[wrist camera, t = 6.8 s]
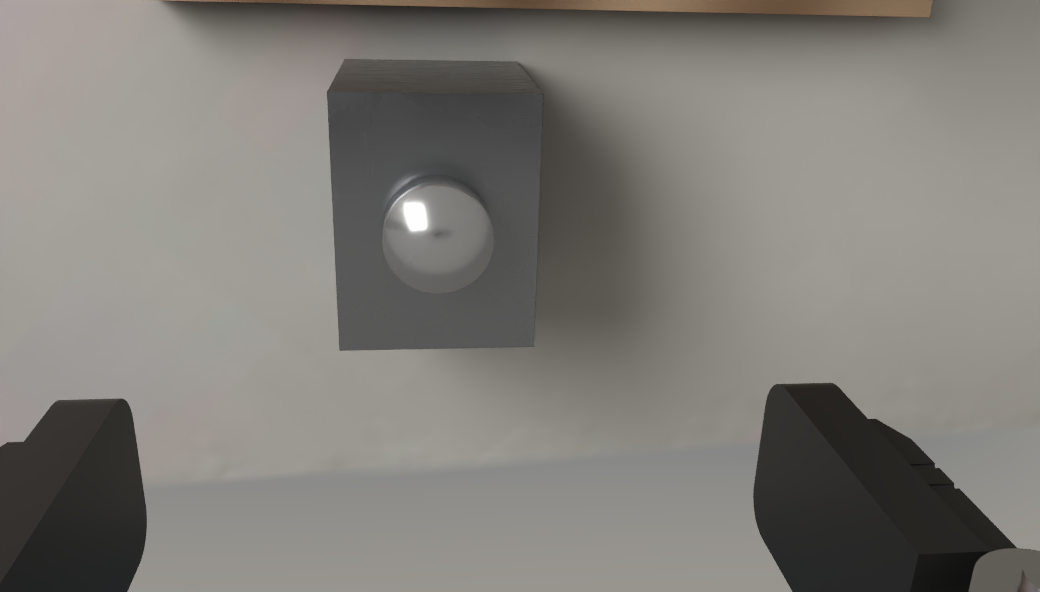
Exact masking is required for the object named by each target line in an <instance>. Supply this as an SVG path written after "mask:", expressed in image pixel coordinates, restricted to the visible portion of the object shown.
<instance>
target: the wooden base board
mask: <svg viewBox="0 0 1040 592" xmlns="http://www.w3.org/2000/svg"><path fill="white" fill-rule="evenodd" d="M162 1H208V2H254V3H300V4H346V5H391V6H437V7H483V8H529V9H575V10H621V11H666V12H712V13H758V14H804V15H850V16H896V17H930V14H931V8H932V3H933V0H162Z"/></svg>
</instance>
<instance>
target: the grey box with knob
mask: <svg viewBox="0 0 1040 592" xmlns="http://www.w3.org/2000/svg"><path fill="white" fill-rule="evenodd" d="M327 100H328V121H329V141H330V162H331V183H332V203H333V224H334V245H335V266H336V286H337V307H338V328H339V348H340V351H343V350H393V349H443V348H493V347H534V333H535V306H536V279H537V252H538V226H539V199H540V172H541V145H542V119H543V93H542V92H541V91H540V90H539V88H538V87H537V86H536V85H535V83H534V82H533V81H532V80H531V78H530V77H529V76H528V75H527V74H526V72H525V71H524V70H523V69H522V67H521V66H520V65H519V64H518V63H517V62H499V61H434V60H368V59H345V60H344V61H343V63H342V65H341V67H340V69H339V71H338V73H337V74H336V76H335V78H334V80H333V82H332V84H331V86H330V87H329V89H328V91H327Z"/></svg>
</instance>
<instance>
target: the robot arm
mask: <svg viewBox="0 0 1040 592" xmlns="http://www.w3.org/2000/svg"><path fill="white" fill-rule="evenodd" d="M753 497H754V511H755V518H756V522H757V526H758V529H759V532H760V535H761V537H762V538H763V540H764V542H765V544H766V546H767V547H768V549H769V551H770V553H771V554H772V556H773V558H774V560H775V561H776V563H777V565H778V567H779V569H780V570H781V572H782V573H783V575H784V577H785V579H786V581H787V583H788V584H789V586H790V588H791V590H792V591H793V592H1040V551H1036V550H1031V549H1019V548H1016V547H1015V545H1014V544H1013V543H1012V542H1011V541H1010V540H1009V539H1008V538H1007V537H1006V536H1005V535H1004V534H1003V533H1002V532H1001V531H1000V530H999V529H998V528H997V527H996V526H995V525H994V524H993V523H992V522H991V521H990V520H989V519H988V518H987V517H986V516H985V515H984V514H983V513H982V512H981V510H979V509H978V507H977V506H976V505H975V504H974V503H973V502H972V501H971V500H970V499H969V498H968V497H967V496H966V495H965V494H964V493H963V492H962V491H961V490H960V489H955V488H954V483H953V482H952V481H951V480H950V479H949V478H948V477H947V476H946V474H945V473H944V472H943V471H942V470H941V469H939V468H935V463H934V462H933V461H932V460H931V459H930V458H929V457H928V456H927V455H926V454H925V453H924V452H923V451H922V450H921V449H920V448H919V447H918V446H917V445H916V444H915V443H914V442H913V441H912V440H911V439H910V438H908V437H906V436H905V435H903V434H901V433H899V432H898V431H896V430H894V429H892V428H891V427H889V426H887V425H885V424H884V423H882V422H880V421H878V420H877V419H867V417H866V416H865V415H864V414H863V413H862V412H861V411H860V410H859V409H858V408H857V407H856V406H855V405H854V403H853V402H852V401H851V400H850V399H849V398H848V397H847V396H846V395H845V394H844V393H843V392H842V390H841V389H840V388H839V387H838V386H837V385H835V384H833V383H807V384H776V385H774V386H773V387H772V388H771V390H770V392H769V394H768V397H767V401H766V406H765V413H764V420H763V427H762V434H761V441H760V448H759V455H758V462H757V469H756V476H755V483H754V496H753ZM146 517H147V515H146V504H145V498H144V491H143V484H142V477H141V470H140V463H139V457H138V450H137V443H136V436H135V429H134V422H133V417H132V412H131V409H130V406H129V404H128V403H127V401H126V400H124V399H89V400H59V401H56V402H55V403H54V404H53V405H52V406H51V407H50V408H49V410H48V411H47V412H46V414H45V415H44V416H43V418H42V419H41V420H40V421H39V423H38V424H37V425H36V427H35V428H34V429H33V431H32V432H31V433H30V434H29V436H28V437H27V438H26V440H25V441H24V442H7V443H6V444H4V445H3V446H1V447H0V592H127V591H128V589H129V587H130V584H131V582H132V580H133V577H134V575H135V573H136V571H137V568H138V566H139V564H140V561H141V558H142V555H143V551H144V545H145V539H146V528H147V518H146Z"/></svg>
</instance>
